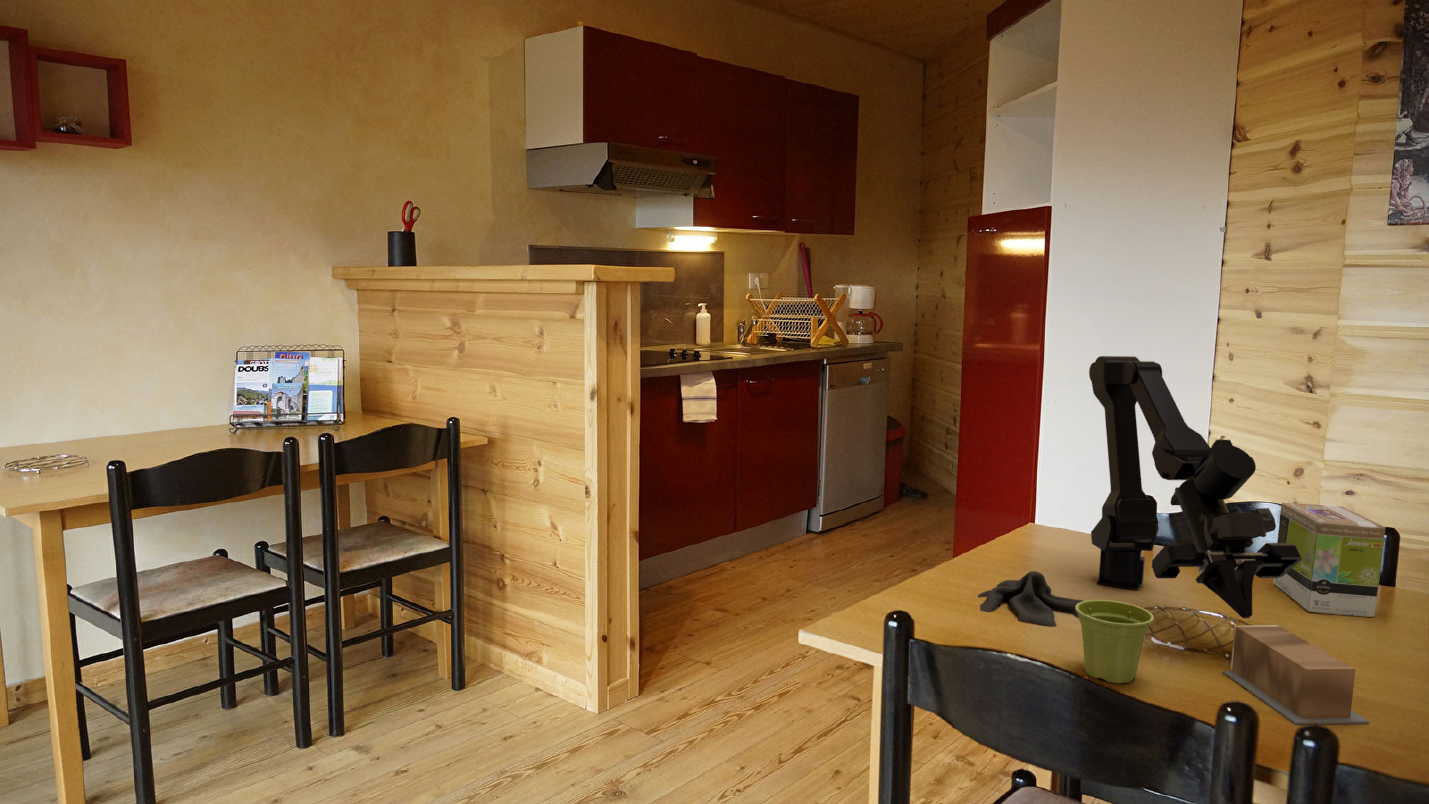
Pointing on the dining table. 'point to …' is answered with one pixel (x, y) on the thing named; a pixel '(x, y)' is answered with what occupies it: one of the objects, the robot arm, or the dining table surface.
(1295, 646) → the walnut block
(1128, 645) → the plant pot
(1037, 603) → the cloth
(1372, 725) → the dining table surface
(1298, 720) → the rubber mat
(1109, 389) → the robot arm
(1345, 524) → the tea box
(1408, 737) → the dining table surface
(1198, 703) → the dining table surface
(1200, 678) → the dining table surface
